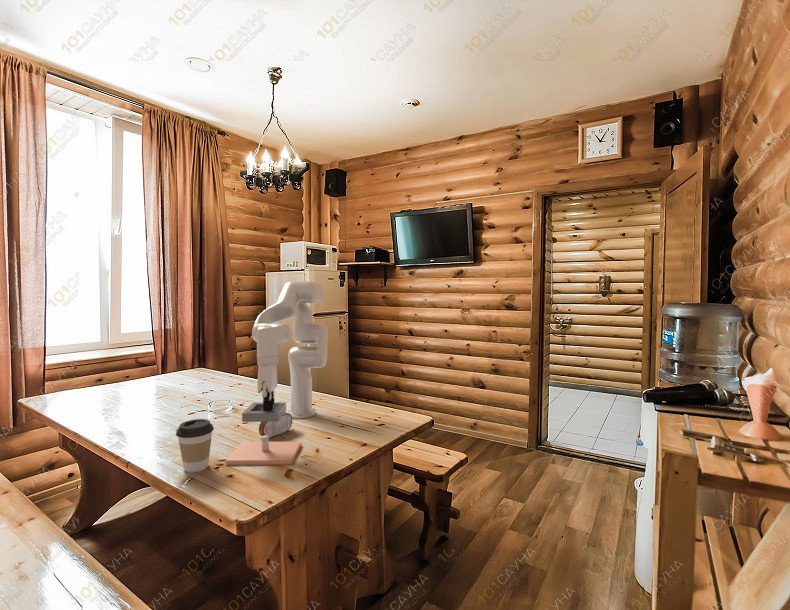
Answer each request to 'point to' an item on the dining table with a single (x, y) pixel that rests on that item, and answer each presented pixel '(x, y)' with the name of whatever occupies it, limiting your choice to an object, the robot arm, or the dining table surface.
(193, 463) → the coffee cup
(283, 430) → the tin
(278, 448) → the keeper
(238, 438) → the dining table surface
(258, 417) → the grey square frame
